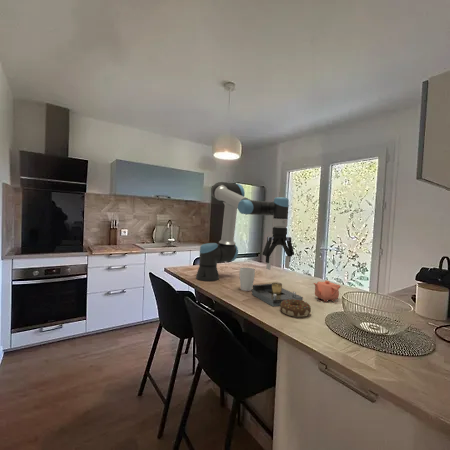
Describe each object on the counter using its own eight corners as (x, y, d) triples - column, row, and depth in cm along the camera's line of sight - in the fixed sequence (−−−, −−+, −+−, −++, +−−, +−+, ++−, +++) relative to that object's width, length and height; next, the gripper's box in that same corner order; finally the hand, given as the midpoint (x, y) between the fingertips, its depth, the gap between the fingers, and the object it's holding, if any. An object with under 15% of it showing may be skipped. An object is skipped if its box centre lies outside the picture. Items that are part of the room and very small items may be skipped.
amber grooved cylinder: (269, 297, 142) (270, 283, 141) (277, 297, 144) (278, 282, 144) (274, 300, 137) (275, 285, 137) (283, 300, 139) (283, 284, 139)
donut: (317, 315, 120) (317, 304, 119) (295, 320, 112) (296, 309, 112) (293, 305, 132) (293, 295, 131) (272, 310, 124) (273, 299, 124)
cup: (253, 292, 151) (254, 271, 150) (237, 290, 153) (238, 269, 152) (254, 288, 160) (255, 268, 159) (239, 286, 162) (240, 267, 161)
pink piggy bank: (317, 294, 153) (318, 276, 152) (340, 298, 147) (341, 280, 146) (311, 300, 141) (312, 281, 140) (335, 305, 134) (337, 285, 134)
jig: (251, 294, 146) (252, 284, 146) (279, 291, 154) (279, 282, 154) (272, 306, 128) (273, 295, 128) (302, 303, 136) (303, 292, 135)
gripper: (264, 227, 131) (262, 271, 132) (302, 228, 141) (300, 269, 142) (257, 226, 138) (254, 268, 139) (293, 227, 148) (291, 266, 149)
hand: (277, 268), depth 140 cm, fingers open, 11 cm apart
